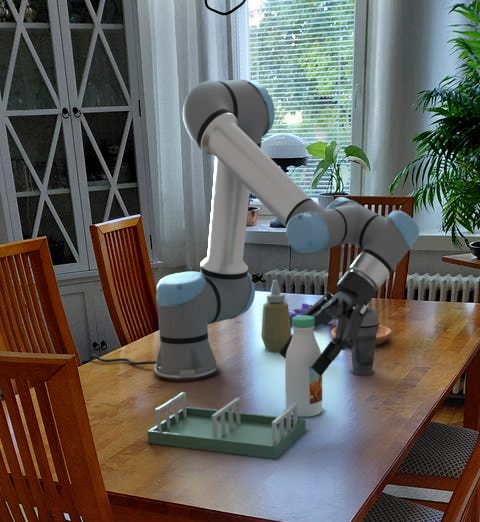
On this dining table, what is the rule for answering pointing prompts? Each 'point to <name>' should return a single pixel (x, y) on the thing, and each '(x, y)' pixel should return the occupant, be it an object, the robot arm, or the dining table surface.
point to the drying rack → (226, 429)
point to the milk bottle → (303, 369)
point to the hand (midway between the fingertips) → (299, 364)
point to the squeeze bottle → (275, 320)
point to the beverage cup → (365, 344)
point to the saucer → (381, 335)
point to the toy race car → (300, 311)
